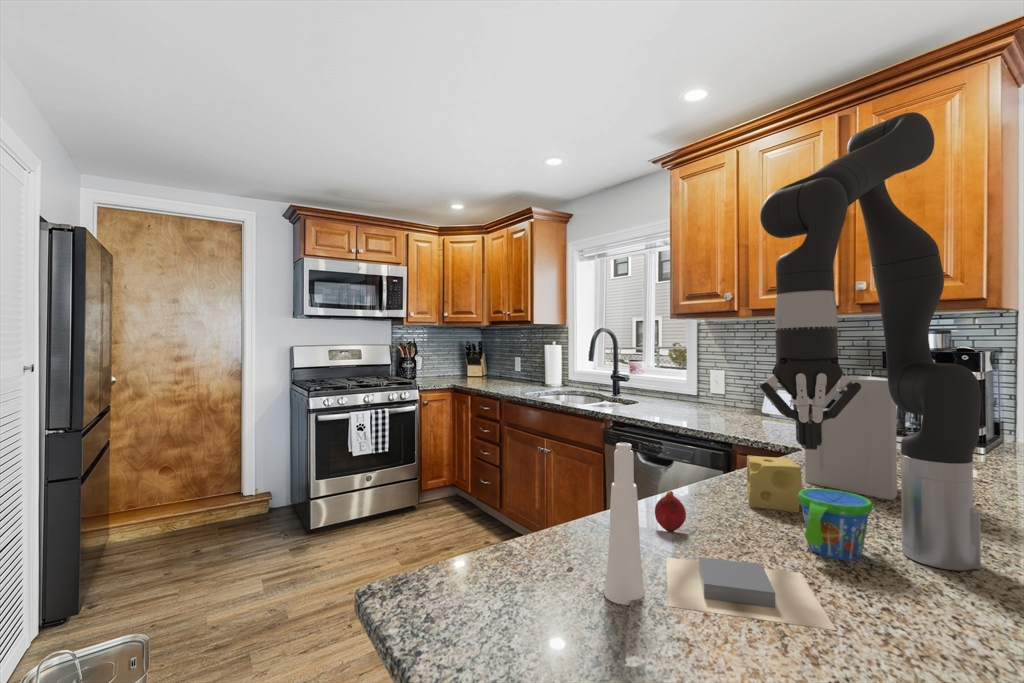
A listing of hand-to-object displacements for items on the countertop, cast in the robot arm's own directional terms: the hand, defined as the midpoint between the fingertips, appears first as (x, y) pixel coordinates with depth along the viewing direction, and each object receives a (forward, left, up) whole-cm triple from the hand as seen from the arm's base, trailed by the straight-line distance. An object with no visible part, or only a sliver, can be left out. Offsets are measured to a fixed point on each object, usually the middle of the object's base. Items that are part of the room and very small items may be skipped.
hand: (808, 448), depth 69 cm
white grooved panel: (-29, -69, -22) cm, 78 cm away
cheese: (-5, -47, -22) cm, 52 cm away
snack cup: (-9, -19, -22) cm, 31 cm away
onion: (+18, -22, -22) cm, 36 cm away
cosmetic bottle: (+25, +5, -22) cm, 34 cm away
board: (+9, 0, -22) cm, 24 cm away
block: (+5, 0, -20) cm, 21 cm away
